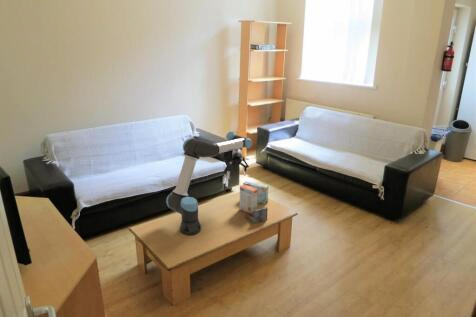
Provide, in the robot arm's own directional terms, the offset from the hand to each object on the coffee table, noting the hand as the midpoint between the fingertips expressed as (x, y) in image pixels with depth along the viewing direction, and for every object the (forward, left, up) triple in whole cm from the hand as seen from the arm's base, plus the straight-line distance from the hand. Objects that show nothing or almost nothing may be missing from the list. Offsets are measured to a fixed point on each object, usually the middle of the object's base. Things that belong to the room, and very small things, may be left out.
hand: (235, 176), depth 264 cm
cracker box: (+8, -6, -29) cm, 31 cm away
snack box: (+23, +8, -29) cm, 38 cm away
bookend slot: (+8, -17, -29) cm, 35 cm away
